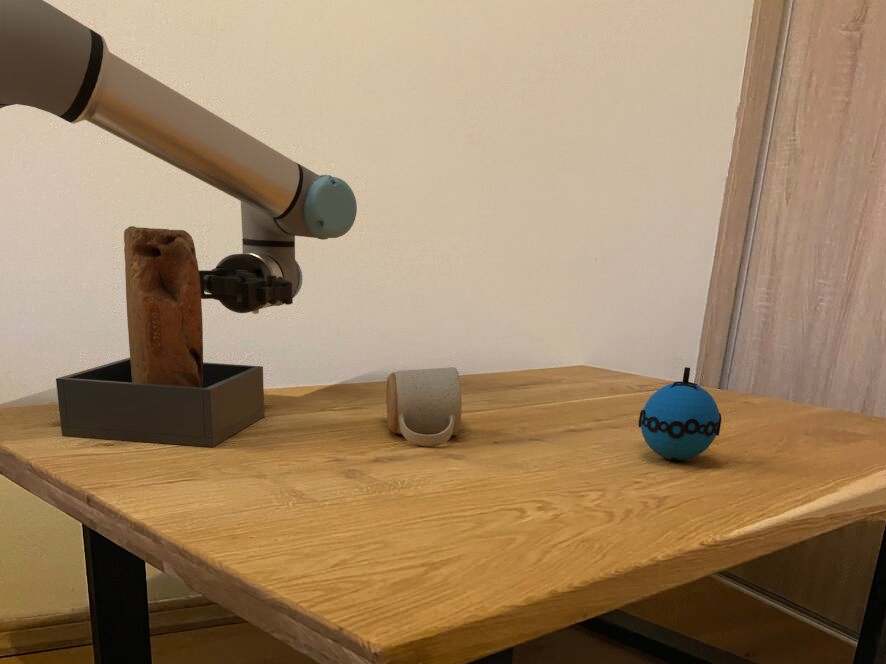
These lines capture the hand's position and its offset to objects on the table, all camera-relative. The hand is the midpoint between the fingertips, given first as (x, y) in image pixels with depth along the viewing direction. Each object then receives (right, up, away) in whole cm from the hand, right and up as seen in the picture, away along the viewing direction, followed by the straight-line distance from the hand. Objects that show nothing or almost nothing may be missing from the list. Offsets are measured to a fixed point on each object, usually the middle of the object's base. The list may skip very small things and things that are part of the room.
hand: (188, 292), depth 107 cm
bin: (-2, -16, -2) cm, 16 cm away
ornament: (+55, -20, -5) cm, 59 cm away
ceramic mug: (+28, -17, -1) cm, 33 cm away
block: (-1, -15, -2) cm, 15 cm away
